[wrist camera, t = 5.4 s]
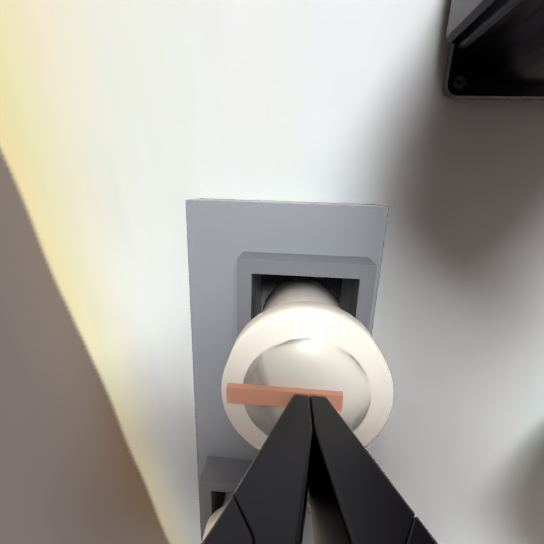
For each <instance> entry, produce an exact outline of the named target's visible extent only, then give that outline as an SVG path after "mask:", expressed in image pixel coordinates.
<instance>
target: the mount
mask: <svg viewBox="0 0 544 544" xmlns="http://www.w3.org/2000/svg"><path fill="white" fill-rule="evenodd" d="M388 209H389V207H385V206H380V205H374V204H347V203H318V202H290V201H261V200H233V199H204V198H202V199H190V200H186V220H187V241H188V263H189V285H190V306H191V328H192V350H193V371H194V393H195V415H196V436H197V458H198V480H199V501H200V523H201V540H202V539H203V536H204V532H205V528H206V524H207V522H208V519H209V518H210V516H211V515H212V514H213V513H214V512H215V511H216V510H218V509H219V508H221V507H222V506H223V502H224V497H225V493H226V492H228V493H234V491H235V490H236V488H237V487H238V485H239V483H240V482H241V480H242V478H243V477H244V475H245V473H246V472H247V470H248V468H249V467H250V465H251V464H252V462H253V460H254V459H255V457H256V455H257V454H258V452H259V450H258V449H257V448H255V447H253V446H252V445H251V444H250V443H248V442H247V441H246V440H245V439H244V438H243V437H242V436H241V435H240V434H239V433H238V432H237V430H236V429H235V428H234V426H233V425H232V423H231V422H230V420H229V418H228V416H227V414H226V411H225V409H224V405H223V401H222V393H221V385H222V377H223V372H224V369H225V366H226V364H227V361H228V359H229V356H230V354H231V351H232V349H233V346H234V344H235V341H236V339H237V337H238V336H239V334H240V332H241V331H242V330H243V328H244V327H245V326H246V325H247V324H248V323H249V322H250V321H251V320H252V319H253V318H254V317H256V316H257V315H258V314H260V313H261V283H262V274H270V275H290V276H309V277H328V278H342V285H341V295H340V307H341V309H342V310H344V311H346V312H347V313H349V314H351V315H352V316H353V317H355V318H356V319H357V320H358V321H360V322H361V323H362V324H363V325H364V326H365V328H366V329H367V330H368V331H369V332H370V334H371V335H372V328H373V320H374V313H375V305H376V298H377V291H378V283H379V276H380V268H381V261H382V254H383V246H384V239H385V231H386V224H387V216H388ZM303 544H314V538H313V529H312V521H311V515H309V514H308V513H306V519H305V530H304V540H303Z"/></svg>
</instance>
